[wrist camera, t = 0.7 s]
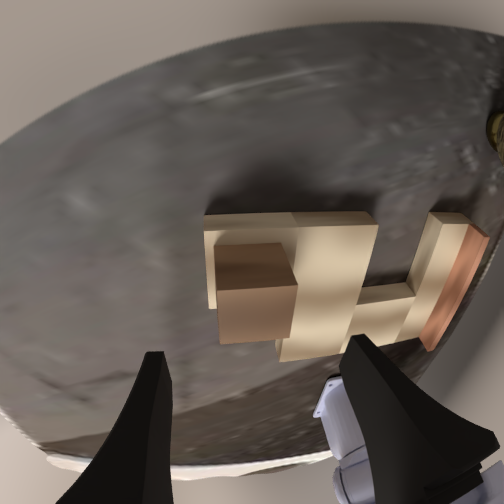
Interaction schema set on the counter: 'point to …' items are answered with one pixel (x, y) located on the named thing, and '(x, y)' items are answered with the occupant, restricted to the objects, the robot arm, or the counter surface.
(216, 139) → the counter surface
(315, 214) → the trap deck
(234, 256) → the walnut cube
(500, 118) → the cup
